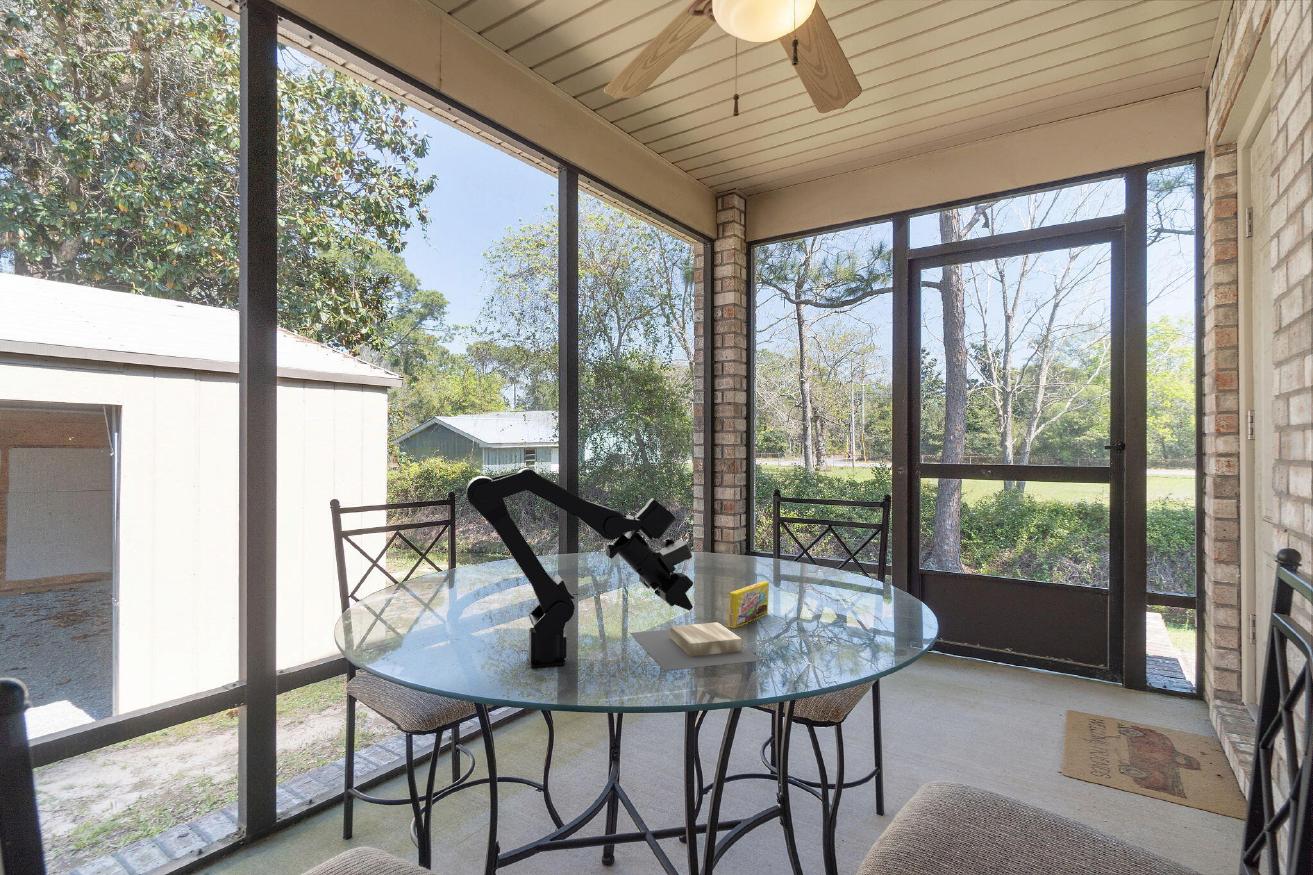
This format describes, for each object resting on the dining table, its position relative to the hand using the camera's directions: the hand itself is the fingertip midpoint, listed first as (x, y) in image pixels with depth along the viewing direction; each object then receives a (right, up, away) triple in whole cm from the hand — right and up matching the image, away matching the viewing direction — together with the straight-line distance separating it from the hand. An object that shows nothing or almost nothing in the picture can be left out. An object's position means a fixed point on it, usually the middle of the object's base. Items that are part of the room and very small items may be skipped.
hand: (690, 608), depth 132 cm
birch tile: (-2, -6, -1) cm, 7 cm away
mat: (0, -8, 0) cm, 8 cm away
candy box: (+15, -9, +20) cm, 26 cm away
